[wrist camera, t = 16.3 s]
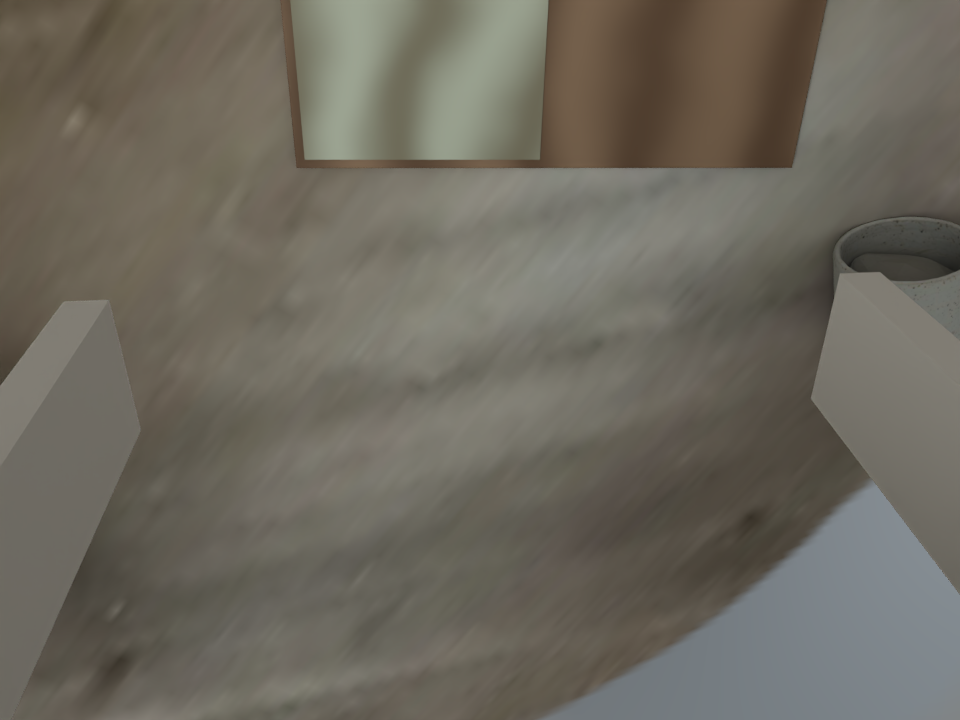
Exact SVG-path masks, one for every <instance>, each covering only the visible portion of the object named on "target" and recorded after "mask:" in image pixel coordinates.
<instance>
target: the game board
mask: <svg viewBox="0 0 960 720" xmlns="http://www.w3.org/2000/svg"><path fill="white" fill-rule="evenodd" d="M280 1H281V11H282V21H283V32H284V42H285V52H286V63H287V73H288V84H289V94H290V104H291V115H292V125H293V136H294V146H295V156H296V167H297V168H792V164H793V159H794V155H795V150H796V145H797V140H798V136H799V131H800V126H801V121H802V117H803V112H804V107H805V102H806V98H807V93H808V88H809V83H810V79H811V74H812V69H813V64H814V60H815V55H816V50H817V45H818V41H819V36H820V31H821V26H822V22H823V17H824V12H825V7H826V3H827V0H280Z"/></svg>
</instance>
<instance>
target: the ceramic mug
mask: <svg viewBox="0 0 960 720" xmlns="http://www.w3.org/2000/svg"><path fill="white" fill-rule="evenodd" d="M833 269H834V297H835V293H836V288H837V284H838V280H839V275H840V273H866V272H881V273H882V274H883V275H884V276H885V277H886V278H887V279H889V280H890V281H891V282H892V283H893V284H894V285H896V286H897V287H898V288H899V289H900V290H901V291H903V292H904V293H905V294H906V295H907V296H908V297H910V298H911V299H912V300H913V301H914V302H915V303H917V304H918V305H919V306H920V307H921V308H922V309H924V310H925V311H926V312H927V313H928V314H929V315H930V316H932V317H933V318H934V319H935V320H936V321H937V322H939V323H940V324H941V325H942V326H943V327H944V328H946V329H947V330H948V331H949V332H950V333H951V334H953V335H954V336H955V337H956V338H957V339H958V340H960V225H957V224H954V223H952V222H949V221H944V220H940V219H932V218H926V217H897V218H889V219H882V220H877V221H873V222H869V223H866V224H863V225H860V226H858V227H856V228H854V229H852V230H850V231H848V232H847V233H846V234H844V235H843V236H842V237H841V238H840V239H839V240H838V242H837V243H836V245H835V247H834V251H833Z"/></svg>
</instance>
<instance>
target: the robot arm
mask: <svg viewBox="0 0 960 720" xmlns="http://www.w3.org/2000/svg"><path fill="white" fill-rule="evenodd" d="M811 400H812V401H813V402H814V404H815V405H816V406H817V408H818V409H819V410H820V412H821V413H822V414H823V416H824V417H825V418H826V419H827V421H828V422H829V423H830V425H831V426H832V427H833V429H834V430H835V431H836V433H837V434H838V435H839V437H840V438H841V439H842V440H843V442H844V443H845V444H846V446H847V447H848V448H849V450H850V451H851V452H852V454H853V455H854V456H855V458H856V459H857V460H858V461H859V463H860V464H861V465H862V467H863V468H864V469H865V471H866V472H867V473H868V475H869V476H870V477H871V479H872V480H873V481H874V482H875V484H876V485H877V486H878V488H879V489H880V490H881V492H882V493H883V494H884V496H885V497H886V498H887V499H888V501H889V502H890V503H891V505H892V506H893V507H894V509H895V510H896V511H897V513H898V514H899V515H900V516H901V518H902V519H903V520H904V522H905V523H906V524H907V526H908V527H909V528H910V530H911V531H912V532H913V534H914V535H915V536H916V537H917V539H918V540H919V541H920V543H921V544H922V545H923V546H924V548H925V549H926V551H927V552H928V553H929V555H930V556H931V557H932V559H933V560H934V561H935V562H936V564H937V565H938V566H939V568H940V569H941V570H942V572H943V573H944V574H945V576H946V577H947V578H948V580H949V581H950V582H951V583H952V585H953V586H954V587H955V588H956V590H957V591H958V593H959V594H960V340H958V339H957V338H956V337H955V336H954V335H953V334H951V333H950V332H949V331H948V330H947V329H946V328H944V327H943V326H942V325H941V324H940V323H939V322H937V321H936V320H935V319H934V318H933V317H932V316H930V315H929V314H928V313H927V312H926V311H925V310H924V309H922V308H921V307H920V306H919V305H918V304H917V303H915V302H914V301H913V300H912V299H911V298H910V297H908V296H907V295H906V294H905V293H904V292H903V291H901V290H900V289H899V288H898V287H897V286H896V285H894V284H893V283H892V282H891V281H890V280H889V279H887V278H886V277H885V276H884V275H883V274H882V273H881V272H866V273H840V275H839V280H838V284H837V288H836V293H835V297H834V301H833V306H832V310H831V314H830V318H829V323H828V327H827V331H826V336H825V340H824V344H823V349H822V353H821V357H820V361H819V366H818V370H817V374H816V379H815V383H814V387H813V392H812V396H811ZM140 431H141V428H140V424H139V420H138V416H137V412H136V408H135V404H134V400H133V396H132V391H131V387H130V383H129V379H128V375H127V371H126V367H125V363H124V359H123V355H122V350H121V346H120V342H119V338H118V334H117V330H116V326H115V322H114V318H113V314H112V310H111V305H110V301H109V300H90V301H64V302H63V303H62V304H61V306H60V307H59V308H58V310H57V311H56V312H55V314H54V315H53V316H52V318H51V319H50V320H49V322H48V323H47V324H46V326H45V327H44V328H43V330H42V331H41V332H40V334H39V335H38V336H37V338H36V339H35V340H34V342H33V343H32V344H31V346H30V347H29V348H28V350H27V351H26V352H25V353H24V355H23V356H22V357H21V359H20V360H19V361H18V363H17V364H16V365H15V367H14V368H13V369H12V371H11V372H10V373H9V375H8V376H7V377H6V379H5V380H4V381H3V383H2V384H1V385H0V720H11V719H12V717H13V715H14V712H15V710H16V708H17V706H18V704H19V701H20V699H21V697H22V695H23V692H24V690H25V688H26V686H27V683H28V681H29V679H30V677H31V675H32V672H33V670H34V668H35V666H36V663H37V661H38V659H39V657H40V654H41V652H42V650H43V648H44V646H45V643H46V641H47V639H48V637H49V634H50V632H51V630H52V628H53V625H54V623H55V621H56V619H57V616H58V614H59V612H60V610H61V608H62V605H63V603H64V601H65V599H66V596H67V594H68V592H69V590H70V587H71V585H72V583H73V581H74V579H75V576H76V574H77V572H78V570H79V567H80V565H81V563H82V561H83V558H84V556H85V554H86V552H87V550H88V547H89V545H90V543H91V541H92V538H93V536H94V534H95V532H96V529H97V527H98V525H99V523H100V521H101V518H102V516H103V514H104V512H105V509H106V507H107V505H108V503H109V500H110V498H111V496H112V494H113V491H114V489H115V487H116V485H117V483H118V480H119V478H120V476H121V474H122V471H123V469H124V467H125V465H126V462H127V460H128V458H129V456H130V454H131V451H132V449H133V447H134V445H135V442H136V440H137V438H138V436H139V433H140Z"/></svg>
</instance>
